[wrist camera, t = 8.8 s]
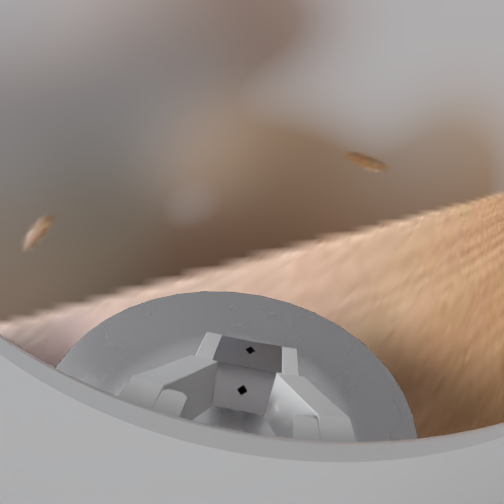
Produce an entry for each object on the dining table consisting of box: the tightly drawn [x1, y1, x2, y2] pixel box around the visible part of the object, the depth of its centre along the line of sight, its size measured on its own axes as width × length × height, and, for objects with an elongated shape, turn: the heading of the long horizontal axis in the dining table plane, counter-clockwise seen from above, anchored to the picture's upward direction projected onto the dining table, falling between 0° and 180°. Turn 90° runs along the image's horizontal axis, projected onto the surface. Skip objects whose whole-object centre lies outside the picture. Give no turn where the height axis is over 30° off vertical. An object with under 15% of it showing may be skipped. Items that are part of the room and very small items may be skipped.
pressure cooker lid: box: [56, 291, 417, 442], centre depth 8 cm, size 16×16×3 cm
